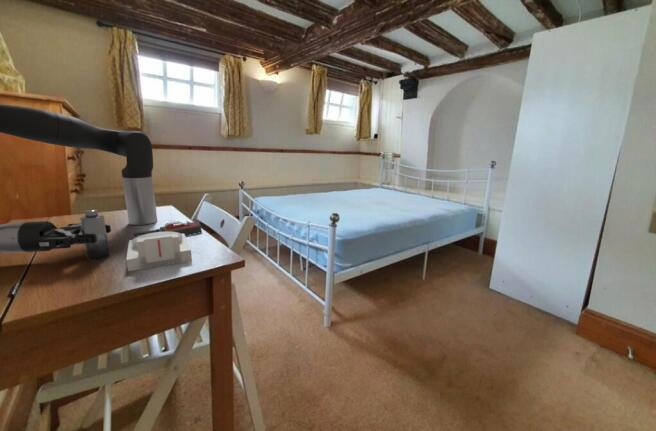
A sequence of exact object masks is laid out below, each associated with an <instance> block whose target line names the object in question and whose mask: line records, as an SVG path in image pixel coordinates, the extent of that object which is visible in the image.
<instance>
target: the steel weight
mask: <svg viewBox="0 0 656 431" xmlns="http://www.w3.org/2000/svg"><path fill="white" fill-rule="evenodd" d="M83 213H84V216H81V217H80V218H79V220H80V223H81V226H82V232H83V234H95V235H96V238H97V241H96V242H95V243H86V244H84V247H85V253H86V258H87V260H88V261H100V260H103V259H106V258H109V257H111V252H110V246H109V238H108V233H106V227H105V225H106V220H105V216H104V215H103V214H99V212H98V209H89V210H87V209H86V210H85V211H84V212H83Z"/></svg>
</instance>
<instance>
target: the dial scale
mask: <svg viewBox="0 0 656 431" xmlns="http://www.w3.org/2000/svg"><path fill="white" fill-rule="evenodd" d="M186 237H187V236H185V234H181V233H178V232H155V233H149V234H145V235H139V236H135V237H134V238H133V239H129V240H128V246H127V252H126V253H127V254H126V266H127V267H126V268H127V272H132V271H138V270H144V269H145V270H146V269H150V268H156V267H162V266H169V265H173V264H181V263H187V262H192V261H193V260H192V258H193V257H192V249H191V247H190V244H189V242H188V239H187V238H186Z"/></svg>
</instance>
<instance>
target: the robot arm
mask: <svg viewBox="0 0 656 431" xmlns="http://www.w3.org/2000/svg"><path fill="white" fill-rule="evenodd" d="M0 133H1V134H6V135H9V136H13V137H17V138H20V139H24V140H25V139H26V140H30V141H34V142H40V143H44V144H49V145H55V146H61V147H66V148H67V147H69V148H75V149H91V150H99V151H103V152H107V153H111V154H114V155H117V156H120V157H121V156H122V157H125V158H126V159H125V160H126V165H125V167H123V168H121V179H122V184H123V191H124V199H125V204H126V205H125V207H126V212H127V213H126V214H127V218H128V219H127V220H128V224H129V225H132V226H143V225H144V226H145V225H150V224H154V223H156V222H157V221H158V214H157V207H156V206H157V204H156V197H155V189H154V183H153V170H154V154H153V145H152V141H151V140H150V138H149V136H148V135H147V134H145V133H143V132H141V131H138V130H137V131H136V130H135V131H134V130H133V131H132V130H127V131H126V130H113V129H109V128H108V129H107V128H103V127H99V126H96V125H93V124H91V123H88V122H86V121H84V120H82V119H79V118H78V117H74V116H70V115H68V114H64V113H60V112H56V111H52V110H51V111H50V110H46V109H40V108H35V107H30V106H29V107H27V106H19V105H11V104H5V103H4V104H3V103H0ZM105 227H106V233H107V234H109V233H111V232H112V229H111V228H112V227H111V225H110V224H105ZM96 241H97V238H96V235H95V234H83V232H82V226H81V222H79V223H69V224H67V225H62V226H60V228H58V227H57V226H56V225H55V224H54V223H53V222H51V221H47V220H46V221H44V220H43V221H25V222H24V221H21V222H10V223H9V222H8V223H0V254H5V253H6V254H7V253H8V254H20V253H21V254H22V253H34V252H36V253H38V252H50V251H52V250H55V249H69V248H71V247H72V246H75V247H76V246H77V245H82V244H83V245H85V244H86V243H95V242H96Z"/></svg>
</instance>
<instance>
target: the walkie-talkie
mask: <svg viewBox="0 0 656 431" xmlns="http://www.w3.org/2000/svg"><path fill="white" fill-rule="evenodd" d="M201 224H202V223H199V222H198V221H194V222H193V221H192V222H190V221H188V220H187V221H186V222H181V221H174V222H173V221H172V222H167V223H165V224H164V226H160V227H159V228H157V229H152V230H146V231H140V232H135V233H133V234H132V235H133V237H138V236H141V235H145V234H149V233H155V232H178V233H181V234H185V235H186V236H190V235H189V234H191V235H195V234H194V233H196V234H200V233H199V232H201V233H202V225H201Z"/></svg>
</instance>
